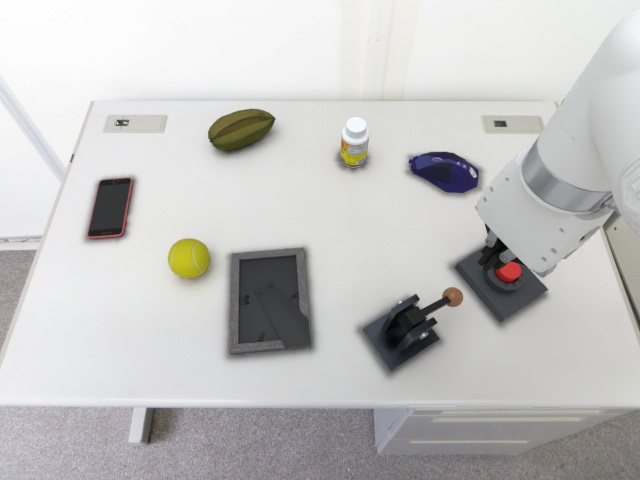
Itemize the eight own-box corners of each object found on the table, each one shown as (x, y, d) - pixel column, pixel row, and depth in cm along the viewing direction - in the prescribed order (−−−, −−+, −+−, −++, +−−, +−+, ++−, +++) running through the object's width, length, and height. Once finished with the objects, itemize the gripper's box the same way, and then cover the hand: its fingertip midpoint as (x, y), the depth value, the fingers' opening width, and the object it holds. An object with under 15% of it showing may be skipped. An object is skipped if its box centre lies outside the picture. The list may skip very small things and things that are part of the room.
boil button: (521, 275, 64) (525, 272, 63) (505, 286, 64) (509, 282, 62) (506, 259, 66) (510, 255, 64) (490, 269, 65) (494, 265, 64)
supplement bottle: (342, 147, 83) (344, 111, 74) (367, 151, 82) (372, 115, 73) (338, 167, 80) (339, 132, 71) (363, 171, 80) (368, 137, 71)
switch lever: (446, 291, 63) (457, 280, 61) (459, 306, 62) (471, 297, 60) (393, 318, 56) (404, 307, 53) (406, 336, 54) (418, 326, 52)
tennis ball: (172, 283, 69) (157, 268, 62) (179, 249, 72) (166, 231, 66) (211, 283, 68) (199, 268, 62) (216, 249, 72) (206, 231, 65)
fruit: (232, 116, 88) (225, 93, 82) (279, 130, 86) (275, 107, 80) (208, 152, 83) (199, 130, 77) (257, 167, 81) (251, 146, 75)
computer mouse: (476, 198, 76) (484, 186, 73) (403, 183, 78) (407, 171, 75) (479, 163, 80) (487, 150, 77) (410, 149, 82) (414, 137, 79)
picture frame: (310, 347, 63) (303, 251, 71) (310, 344, 61) (303, 246, 69) (231, 354, 62) (233, 256, 71) (228, 352, 61) (231, 252, 69)
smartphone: (132, 176, 79) (122, 235, 73) (134, 178, 80) (123, 236, 73) (99, 179, 79) (85, 238, 72) (100, 181, 79) (87, 239, 73)
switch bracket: (409, 301, 66) (425, 276, 56) (438, 340, 63) (460, 321, 53) (362, 330, 64) (369, 309, 54) (389, 372, 61) (402, 359, 50)
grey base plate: (542, 293, 67) (554, 285, 63) (499, 322, 64) (510, 315, 61) (494, 242, 72) (503, 232, 68) (454, 267, 69) (460, 258, 66)
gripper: (680, 213, 30) (556, 295, 46) (537, 100, 36) (472, 207, 52) (616, 257, 28) (510, 326, 44) (477, 131, 34) (429, 232, 50)
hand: (490, 262), depth 48 cm, fingers closed
